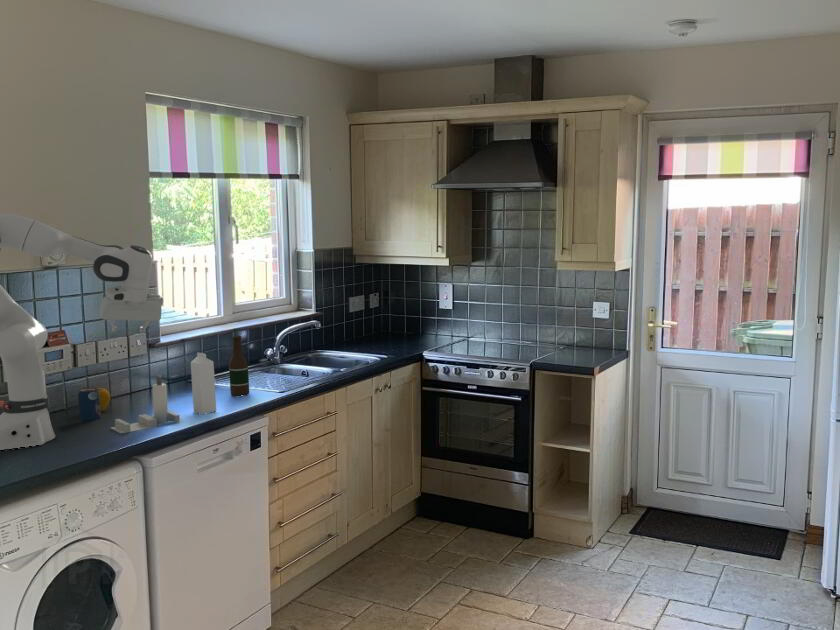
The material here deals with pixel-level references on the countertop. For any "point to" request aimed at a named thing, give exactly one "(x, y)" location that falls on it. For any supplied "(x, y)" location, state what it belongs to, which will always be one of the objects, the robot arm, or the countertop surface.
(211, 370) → the milk
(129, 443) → the countertop surface
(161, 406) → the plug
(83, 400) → the soda can
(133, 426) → the white ridged flat base
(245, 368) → the beer bottle
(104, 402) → the yellow bell pepper
